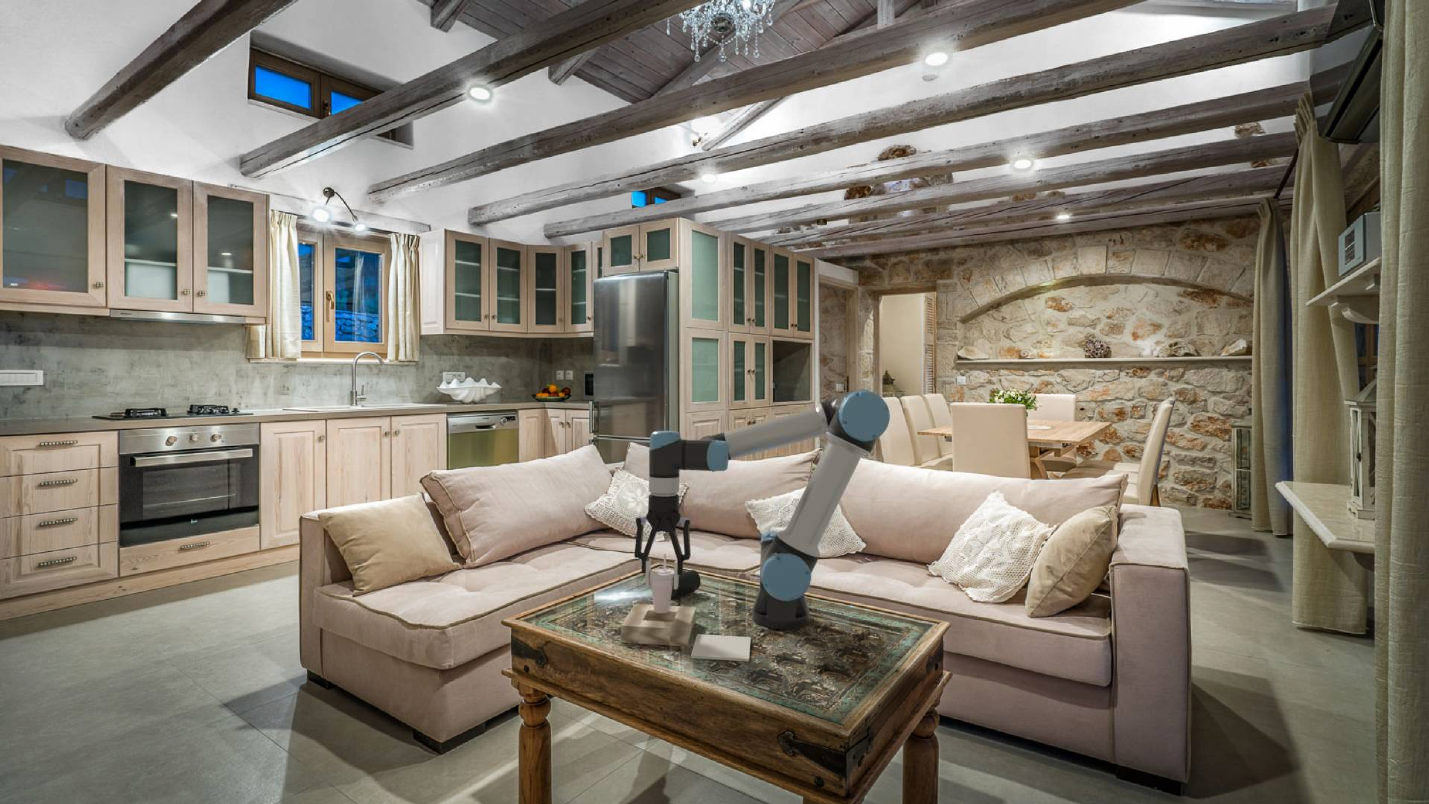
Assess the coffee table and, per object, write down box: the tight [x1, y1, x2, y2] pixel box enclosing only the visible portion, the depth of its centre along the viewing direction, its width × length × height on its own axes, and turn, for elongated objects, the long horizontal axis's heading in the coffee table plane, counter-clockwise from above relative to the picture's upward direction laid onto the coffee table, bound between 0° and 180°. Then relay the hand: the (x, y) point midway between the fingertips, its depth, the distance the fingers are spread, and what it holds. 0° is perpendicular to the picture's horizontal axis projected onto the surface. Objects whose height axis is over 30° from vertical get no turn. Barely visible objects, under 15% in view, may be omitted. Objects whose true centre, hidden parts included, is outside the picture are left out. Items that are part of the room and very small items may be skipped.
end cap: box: [671, 569, 702, 600], centre depth 191 cm, size 10×7×7 cm
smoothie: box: [649, 553, 674, 613], centre depth 161 cm, size 6×6×14 cm
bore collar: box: [620, 603, 697, 647], centre depth 161 cm, size 16×16×4 cm
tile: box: [690, 633, 751, 663], centre depth 152 cm, size 13×13×1 cm
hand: (662, 586), depth 161 cm, fingers closed on smoothie, 6 cm apart
